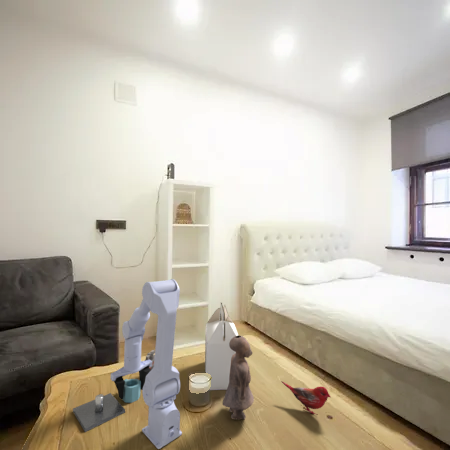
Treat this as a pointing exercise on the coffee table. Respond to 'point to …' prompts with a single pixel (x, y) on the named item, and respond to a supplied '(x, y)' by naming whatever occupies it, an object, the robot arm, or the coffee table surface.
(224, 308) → the gable box
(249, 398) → the clay figurine
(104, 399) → the base
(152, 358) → the lighter
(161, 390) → the robot arm
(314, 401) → the decorative bird figurine
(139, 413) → the coffee table surface
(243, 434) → the coffee table surface
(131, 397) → the elbow collar
